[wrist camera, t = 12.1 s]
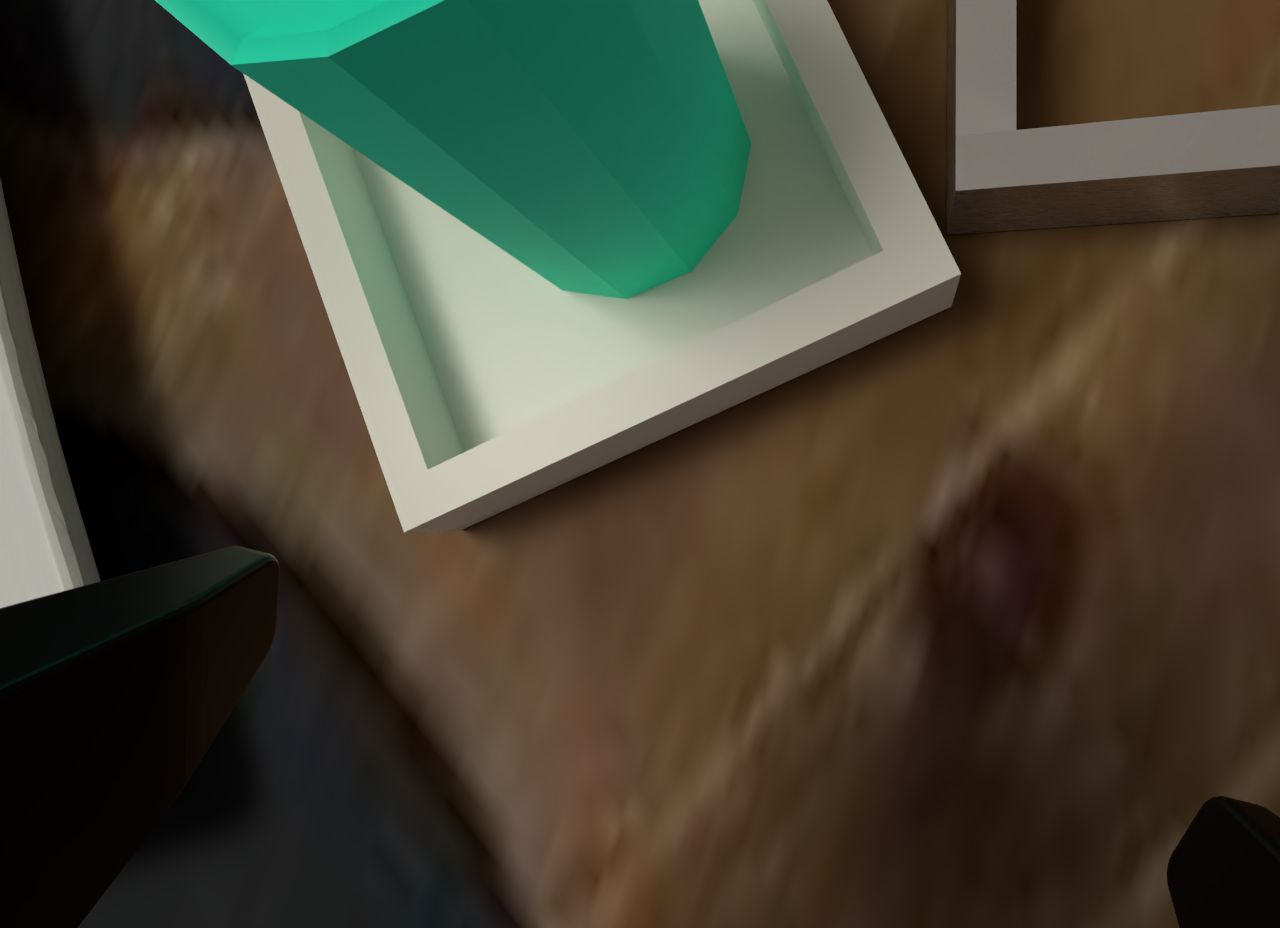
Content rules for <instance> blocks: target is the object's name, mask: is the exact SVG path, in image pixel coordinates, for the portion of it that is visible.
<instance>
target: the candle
mask: <svg viewBox="0 0 1280 928" xmlns="http://www.w3.org/2000/svg"><path fill="white" fill-rule="evenodd" d="M155 1H156V2H158V3H159V4H160V5H161V6H162V7H163V8H165V9H166V10H167V11H168V12H169V13H171V14H172V15H173V16H174V17H175V18H176V19H178V20H179V21H180V22H181V23H182V24H183V25H185V26H186V27H187V28H188V29H189V30H190V31H192V32H193V33H194V34H195V35H196V36H198V37H199V38H200V39H201V40H202V41H203V42H205V43H206V44H207V45H208V46H209V47H210V48H212V49H213V50H214V51H215V52H216V53H217V54H219V55H220V56H221V57H222V58H223V59H225V60H226V61H227V62H228V63H229V64H230V65H232V66H233V67H235V68H236V69H238V70H239V71H241V72H242V73H243V74H245V75H246V76H248V77H249V78H251V79H252V80H254V81H255V82H257V83H258V84H260V85H261V86H263V87H264V88H266V89H267V90H268V91H270V92H271V93H273V94H274V95H276V96H277V97H279V98H280V99H282V100H283V101H285V102H286V103H288V104H289V105H291V106H292V107H293V108H295V109H296V110H298V111H299V112H301V113H302V114H304V115H305V116H307V117H308V118H310V119H311V120H313V121H314V122H316V123H317V124H318V125H320V126H321V127H323V128H324V129H326V130H327V131H329V132H330V133H332V134H333V135H335V136H336V137H338V138H339V139H341V140H342V141H343V142H345V143H346V144H348V145H349V146H351V147H352V148H354V149H355V150H357V151H358V152H360V153H361V154H363V155H364V156H366V157H367V158H368V159H370V160H371V161H373V162H374V163H376V164H377V165H379V166H380V167H382V168H383V169H385V170H386V171H388V172H389V173H391V174H392V175H393V176H395V177H396V178H398V179H399V180H401V181H402V182H404V183H405V184H407V185H408V186H410V187H411V188H413V189H414V190H416V191H417V192H418V193H420V194H421V195H423V196H424V197H426V198H427V199H429V200H430V201H432V202H433V203H435V204H436V205H438V206H439V207H441V208H442V209H443V210H445V211H446V212H448V213H449V214H451V215H452V216H454V217H455V218H457V219H458V220H460V221H461V222H463V223H464V224H466V225H467V226H468V227H470V228H471V229H473V230H474V231H476V232H477V233H479V234H480V235H482V236H483V237H485V238H486V239H488V240H489V241H491V242H492V243H494V244H495V245H496V246H498V247H499V248H501V249H502V250H504V251H505V252H507V253H508V254H510V255H511V256H513V257H514V258H516V259H517V260H519V261H520V262H521V263H523V264H524V265H526V266H527V267H529V268H530V269H532V270H533V271H535V272H536V273H538V274H539V275H541V276H542V277H544V278H545V279H546V280H548V281H549V282H551V283H552V284H554V285H555V286H557V287H558V288H560V289H561V290H563V291H571V292H578V293H586V294H593V295H600V296H608V297H615V298H622V299H628V298H630V297H633V296H635V295H637V294H640V293H642V292H644V291H647V290H649V289H652V288H654V287H656V286H659V285H661V284H663V283H666V282H668V281H671V280H673V279H675V278H678V277H680V276H682V275H685V274H687V273H690V272H691V271H692V270H693V269H694V268H695V267H696V265H697V264H698V263H699V262H700V260H701V259H702V258H703V257H704V255H705V254H706V253H707V252H708V251H709V249H710V248H711V247H712V246H713V244H714V243H715V242H716V241H717V240H718V238H719V237H720V236H721V235H722V233H723V232H724V231H725V230H726V228H727V227H728V226H729V225H730V224H731V222H732V221H733V220H734V219H735V217H736V216H737V215H738V211H739V206H740V200H741V195H742V190H743V185H744V180H745V175H746V170H747V164H748V159H749V154H750V149H751V141H750V138H749V135H748V133H747V130H746V127H745V124H744V122H743V119H742V116H741V113H740V111H739V108H738V105H737V102H736V100H735V97H734V94H733V92H732V89H731V86H730V83H729V81H728V78H727V75H726V73H725V70H724V67H723V65H722V62H721V59H720V57H719V54H718V51H717V49H716V46H715V43H714V41H713V38H712V35H711V33H710V30H709V27H708V25H707V22H706V19H705V17H704V14H703V11H702V9H701V6H700V3H699V1H698V0H155Z"/></svg>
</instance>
